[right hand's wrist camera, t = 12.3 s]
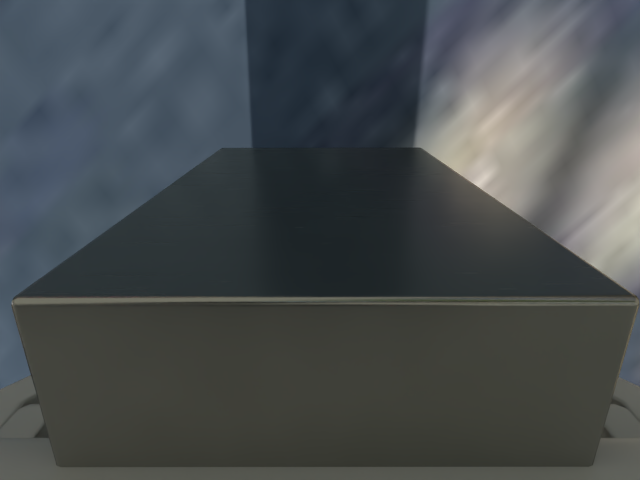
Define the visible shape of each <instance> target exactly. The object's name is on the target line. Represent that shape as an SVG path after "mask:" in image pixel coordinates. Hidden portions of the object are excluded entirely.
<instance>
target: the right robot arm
mask: <svg viewBox="0 0 640 480" xmlns="http://www.w3.org/2000/svg"><path fill="white" fill-rule="evenodd" d="M0 480H640V387H639V386H637V385H634V384H632V383H630V382H628V381H626V380H624V379H621V378H619V377H618V380H617V384H616V387H615V390H614V394H613V397H612V401H611V404H610V408H609V411H608V415H607V418H606V421H605V425H604V428H603V432H602V435H601V439H600V442H599V446H598V449H597V452H596V456H595V459H594V463H593V465H592V466H589V467H59V466H57V465H56V461H55V458H54V454H53V451H52V447H51V444H50V440H49V437H48V433H47V430H46V426H45V423H44V419H43V416H42V412H41V408H40V405H39V401H38V398H37V394H36V391H35V387H34V384H33V380H32V377H31V375H30V376H28V377H26V378H24V379H22V380H20V381H17V382H15V383H13V384H11V385H9V386H7V387H4V388H2V389H0Z"/></svg>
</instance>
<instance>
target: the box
mask: <svg viewBox="0 0 640 480" xmlns="http://www.w3.org/2000/svg"><path fill="white" fill-rule="evenodd" d="M638 308H639V299H638V298H637V296H636V295H634V294H633V293H631V292H630V291H628V290H627V289H626V288H624V287H623V286H621V285H620V284H618V283H617V282H615V281H614V280H612V279H611V278H610V277H608V276H607V275H605V274H604V273H602V272H601V271H599V270H598V269H596V268H595V267H594V266H592V265H591V264H589V263H588V262H586V261H585V260H583V259H582V258H580V257H579V256H578V255H576V254H575V253H573V252H572V251H570V250H569V249H567V248H566V247H564V246H563V245H562V244H560V243H559V242H557V241H556V240H554V239H553V238H551V237H550V236H548V235H547V234H546V233H544V232H543V231H541V230H540V229H538V228H537V227H535V226H534V225H532V224H531V223H530V222H528V221H527V220H525V219H524V218H522V217H521V216H519V215H518V214H516V213H515V212H514V211H512V210H511V209H509V208H508V207H506V206H505V205H503V204H502V203H500V202H499V201H498V200H496V199H495V198H493V197H492V196H490V195H489V194H487V193H486V192H484V191H483V190H482V189H480V188H479V187H477V186H476V185H474V184H473V183H471V182H470V181H468V180H467V179H466V178H464V177H463V176H461V175H460V174H458V173H457V172H455V171H454V170H452V169H451V168H450V167H448V166H447V165H445V164H444V163H442V162H441V161H439V160H438V159H436V158H435V157H434V156H432V155H431V154H429V153H428V152H426V151H425V150H423V149H422V148H221V149H220V150H218V151H217V152H216V153H214V154H213V155H211V156H210V157H209V158H207V159H206V160H204V161H203V162H202V163H200V164H199V165H197V166H196V167H195V168H193V169H192V170H190V171H189V172H188V173H186V174H185V175H184V176H182V177H181V178H179V179H178V180H177V181H175V182H174V183H172V184H171V185H170V186H168V187H167V188H165V189H164V190H163V191H161V192H160V193H158V194H157V195H156V196H154V197H153V198H151V199H150V200H149V201H147V202H146V203H144V204H143V205H142V206H140V207H139V208H138V209H136V210H135V211H133V212H132V213H131V214H129V215H128V216H126V217H125V218H124V219H122V220H121V221H119V222H118V223H117V224H115V225H114V226H112V227H111V228H110V229H108V230H107V231H105V232H104V233H103V234H101V235H100V236H99V237H97V238H96V239H94V240H93V241H92V242H90V243H89V244H87V245H86V246H85V247H83V248H82V249H80V250H79V251H78V252H76V253H75V254H73V255H72V256H71V257H69V258H68V259H66V260H65V261H64V262H62V263H61V264H60V265H58V266H57V267H55V268H54V269H53V270H51V271H50V272H48V273H47V274H46V275H44V276H43V277H41V278H40V279H39V280H37V281H36V282H34V283H33V284H32V285H30V286H29V287H27V288H26V289H25V290H23V291H22V292H20V293H19V294H18V295H16V296H15V297H14V298H13V300H12V310H13V313H14V317H15V320H16V324H17V327H18V331H19V334H20V338H21V341H22V345H23V348H24V352H25V356H26V359H27V363H28V366H29V370H30V373H31V377H32V380H33V384H34V387H35V391H36V394H37V398H38V401H39V405H40V408H41V412H42V416H43V419H44V423H45V426H46V430H47V433H48V437H49V440H50V444H51V447H52V451H53V454H54V458H55V461H56V465H57V466H59V467H589V466H592V465H593V463H594V459H595V456H596V452H597V449H598V446H599V442H600V439H601V435H602V432H603V428H604V425H605V421H606V418H607V415H608V411H609V408H610V404H611V401H612V397H613V394H614V390H615V387H616V384H617V380H618V377H619V373H620V370H621V366H622V363H623V359H624V356H625V353H626V349H627V346H628V342H629V339H630V335H631V332H632V328H633V325H634V322H635V318H636V315H637V311H638Z"/></svg>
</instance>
